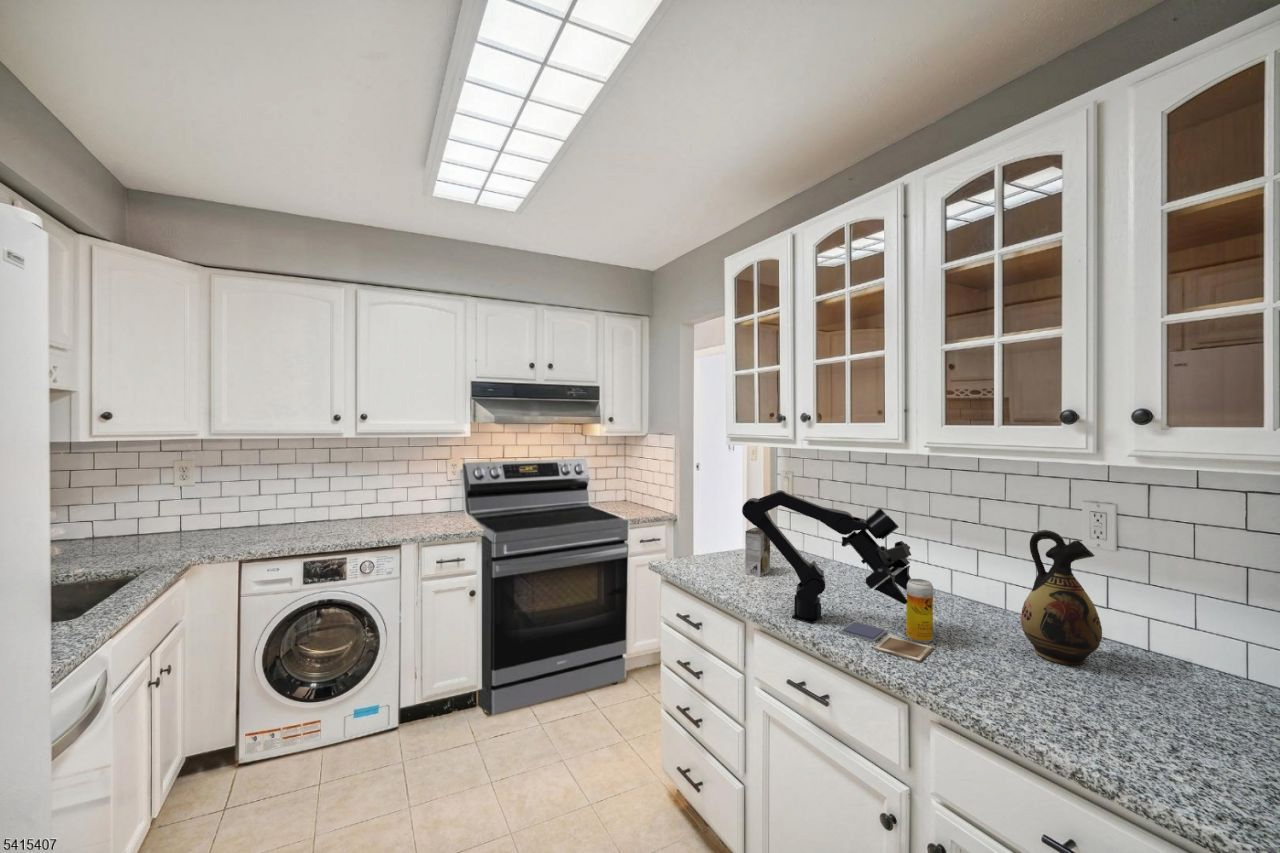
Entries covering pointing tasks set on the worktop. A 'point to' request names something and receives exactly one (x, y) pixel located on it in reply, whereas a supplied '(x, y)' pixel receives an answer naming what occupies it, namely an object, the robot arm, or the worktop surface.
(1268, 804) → the worktop surface
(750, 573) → the coffee box
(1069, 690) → the worktop surface
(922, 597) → the beer can
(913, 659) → the marked square
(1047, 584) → the ceramic jug
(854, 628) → the ink pad
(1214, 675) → the worktop surface
